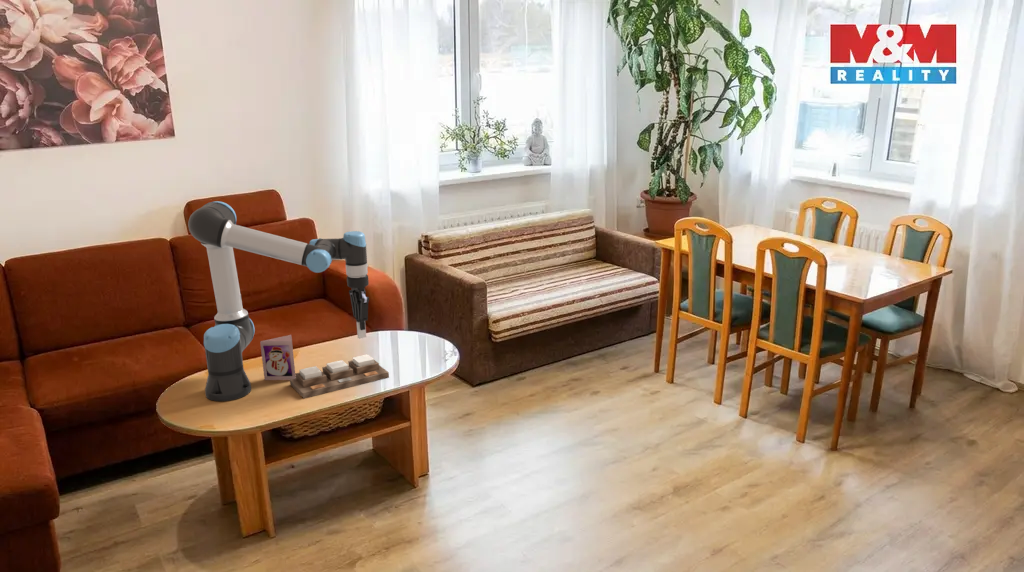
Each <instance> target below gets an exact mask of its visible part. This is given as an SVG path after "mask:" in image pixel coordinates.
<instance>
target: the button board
mask: <svg viewBox="0 0 1024 572" xmlns="http://www.w3.org/2000/svg"><path fill="white" fill-rule="evenodd" d="M347 364H348V367H349V370H344V371H340V372H336V373H331V372H330V371H329V370H328V369H327V365H326V366H322V368H321V369H322V376H319V377H315V378H311V379H306V380H304V379H303V378H302V377H301V376H300V371H299V372H295V376H296V378H295V379H291V380H289V386H291V387H292V388H293V390H294V391H295V392H297V394H299V395H300V397H301V396H302V397H303V398H302V397H301V398H302V399H303V400H304V399H308V398H311V397H316V396H319V395H324V394H329V393H331V392H332V393H333V392H336V391H339V390H344V389H348V388H352V387H356V386H360V385H363V384H368V383H371V382H377V381H379V380H380V381H381V380H384V379H388V378H390V373H389V371H387V370H386V369H385V368H384V367H382V366H381V365H380V363H379V362H378V361H376V359H374V364H370V365H366V366H361V367H358V366H356V365H355V364H354V363H353V359H351V360H348V363H347ZM318 369H319V370H321V369H320V368H318Z"/></svg>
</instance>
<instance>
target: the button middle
mask: <svg viewBox="0 0 1024 572" xmlns="http://www.w3.org/2000/svg"><path fill="white" fill-rule="evenodd" d="M325 365H326V366H327V369H328V370H329V371H330V372H331V373H336V372H340V371H344V370H349V367H348V366H349V363H346V362H345V361H344V360H343V359H341V360H335V361H332V362H328V363H326V364H325Z"/></svg>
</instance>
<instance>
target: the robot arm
mask: <svg viewBox="0 0 1024 572" xmlns="http://www.w3.org/2000/svg"><path fill="white" fill-rule="evenodd" d="M187 225H188V231H189V233H190V235H191V236H192V237H193V238H194V239H195V240H197V241H198V242H200V244H201V245H202V246H204V247H205V248H206V253H207V258H208V264H209V270H210V276H211V281H212V282H211V283H212V287H213V292H214V293H213V294H214V297H215V303H216V309H217V313H216V314H215V315H214V316H213V317H214V318H213V319H214V323H215V324H214V326H211V327H210V328H208V329H206V331H205V332H204V334H203V347H204V352H205V360H206V365H207V374H208V375H207V380H206V384H205V388H204V394H205V398H206V399H208V400H210V401H213V400H214V402H229V401H234V400H237V399H240V398H243V397H246V396H247V395H249V393H251V391H252V385H251V381H250V379H249V377H248V375H247V373H246V371H245V369H244V363H243V362H244V360H243V352H244V351H245V349H246V348H247V347H248V346H249V345H250V344H251V342H252V340H253V339H254V337H255V336H254V335H255V331H256V329H255V325H254V322H253V320H252V319H251V318H250V316H249V312H248V310H247V309H245V308H243V301H242V294H241V289H240V283H239V278H238V276H239V275H238V269H237V265H236V258H235V252H234V249H237V250H241V251H245V252H249V253H253V254H256V255H261V256H265V257H268V258H269V257H270V258H273V259H276V260H281V261H284V262H288V263H292V264H297V265H300V266H303V267H307V269H309V271H311V272H313V273H315V274H316V273H317V274H318V273H323V272H325V271H326V270H327V269H329V268H330V266H331V264H332V262H333V261H334V260H335V261H337V260H338V261H339V260H340V261H341V260H344V261H345V274H346V283H347V284H346V285H347V287H349V288H351V290H350V289H349V290H348V294H349V297H350V304H351V307H352V308H351V310H352V314H353V318H355V320H356V321H355V322H356V333H357V335H356V336H357V339H364V338H367V329H366V321H368V320H369V302H370V297H369V296H366V294H367V292H366V287H367V286H369V283H370V282H369V275H368V271H369V270H368V269H369V268H368V267H369V264H368V255H367V252H368V251H367V243H366V242H367V241H366V234H365V233H364V232H363V231H359V230H358V231H357V230H352V231H346V232H344V233H343V237H342V238H315V239H311V240H310V241H309V243H307V242H303V241H299V240H295V239H291V238H287V237H284V236H280V235H278V234H272V233H268V232H265V231H261V230H257V229H253V228H249V227H246V226H242V225H239V224H237V214H236V211H235V210H234V209H233V208H232V206H231V205H230V204H228V203H226V202H223V201H221V200H220V201H218V200H216V201H211V202H208V203H205V204H204V205H203V206H201V207H200V208H197V209H196V210H195V211H193V212H192V214H190V216H189V219H188V222H187Z"/></svg>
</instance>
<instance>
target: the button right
mask: <svg viewBox="0 0 1024 572" xmlns="http://www.w3.org/2000/svg"><path fill="white" fill-rule="evenodd" d="M351 360H353V363H354V364H355V365H356V366H358V367H361V366H366V365H370V364H374V360H375V358H373V357H372V356H371V355H369V354H367V353H366V354H363V355H358V356H353V357H352V359H351Z"/></svg>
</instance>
